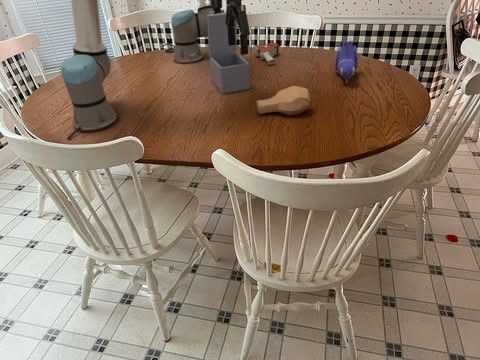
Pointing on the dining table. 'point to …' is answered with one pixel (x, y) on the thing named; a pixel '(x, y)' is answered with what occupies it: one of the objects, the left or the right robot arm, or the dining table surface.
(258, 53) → the tape dispenser
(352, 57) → the toy
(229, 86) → the chest
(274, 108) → the squash
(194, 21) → the right robot arm
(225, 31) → the lid
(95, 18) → the left robot arm
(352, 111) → the dining table surface
